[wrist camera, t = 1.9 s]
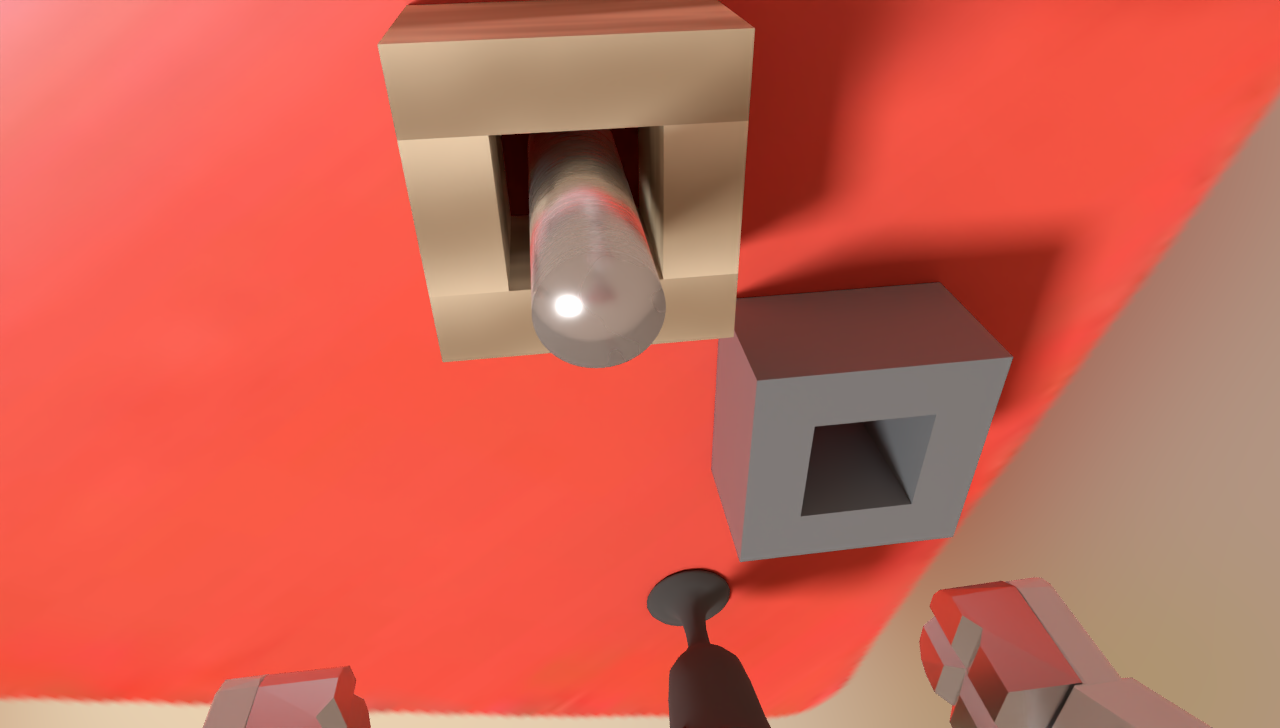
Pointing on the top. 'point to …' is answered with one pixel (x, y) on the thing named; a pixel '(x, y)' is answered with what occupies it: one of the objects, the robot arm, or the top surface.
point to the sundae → (703, 657)
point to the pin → (588, 252)
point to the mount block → (568, 101)
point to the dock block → (851, 417)
